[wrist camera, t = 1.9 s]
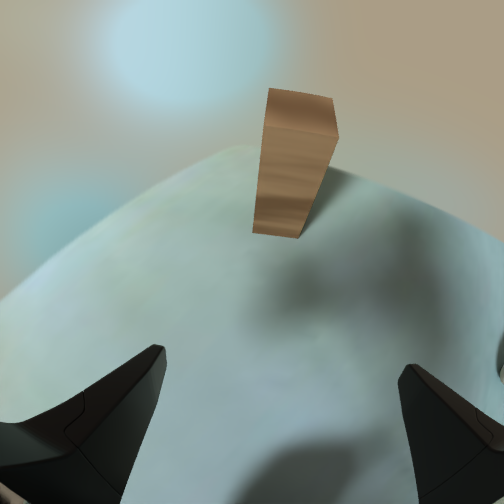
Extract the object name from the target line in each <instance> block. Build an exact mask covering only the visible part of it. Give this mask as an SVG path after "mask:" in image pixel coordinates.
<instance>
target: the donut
mask: <svg viewBox="0 0 504 504" xmlns="http://www.w3.org/2000/svg"><path fill="white" fill-rule="evenodd" d="M500 379H501V382H502V383H503V384H504V365H503V367H502V369H501V372H500Z"/></svg>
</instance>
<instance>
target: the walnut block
mask: <svg viewBox="0 0 504 504" xmlns="http://www.w3.org/2000/svg"><path fill="white" fill-rule="evenodd" d="M338 139H339V136H338V129H337V122H336V116H335V111H334V105H333V100H332V98H327V97H323V96H318V95H313V94H307V93H301V92H295V91H289V90H281V89H274V88H269V92H268V99H267V106H266V113H265V119H264V127H263V136H262V146H261V155H260V165H259V174H258V184H257V194H256V203H255V213H254V222H253V232H252V233H258V234H266V235H274V236H282V237H290V238H297V239H298V238H299V235H300V233H301V231H302V228H303V226H304V224H305V221H306V219H307V216H308V214H309V212H310V209H311V207H312V204H313V202H314V200H315V197H316V195H317V192H318V190H319V187H320V185H321V182H322V180H323V177H324V175H325V172H326V170H327V167H328V165H329V162H330V160H331V156H332V154H333V152H334V149H335V147H336V144H337V141H338Z"/></svg>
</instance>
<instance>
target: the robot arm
mask: <svg viewBox="0 0 504 504" xmlns="http://www.w3.org/2000/svg"><path fill="white" fill-rule="evenodd" d="M166 367H167V360H166V350H165V347H164V346H161V345H156V344H153V345H151V346H150V347H148V348H147V349H145V350H144V351H142V352H141V353H139V354H138V355H136V356H135V357H133V358H132V359H130V360H129V361H127V362H126V363H124V364H123V365H121V366H120V367H118V368H117V369H115V370H114V371H112V372H111V373H109V374H108V375H106V376H105V377H103V378H101V379H100V380H98V381H97V382H95V383H94V384H92V385H91V386H89V387H88V388H86V389H85V390H84V392H83V391H81V392H80V393H78V394H77V395H75V396H74V397H72V398H70V399H69V400H67V401H65V402H63V403H62V404H60V405H58V406H56V407H54V408H52V409H50V410H48V411H45V412H43V413H41V414H39V415H37V416H35V417H32V418H30V419H28V420H26V421H23V422H19V423H5V422H0V504H120V501H121V499H122V495H123V493H124V490H125V487H126V484H127V481H128V479H129V476H130V473H131V470H132V468H133V465H134V462H135V460H136V457H137V454H138V452H139V449H140V446H141V444H142V441H143V439H144V436H145V433H146V431H147V428H148V426H149V423H150V421H151V418H152V416H153V413H154V410H155V408H156V405H157V402H158V398H159V394H160V390H161V387H162V383H163V379H164V375H165V371H166ZM398 389H399V395H400V401H401V408H402V415H403V420H404V424H405V428H406V432H407V437H408V441H409V446H410V451H411V456H412V461H413V466H414V472H415V478H416V484H417V491H418V499H419V504H504V426H503V425H501V424H500V423H498V422H496V421H495V420H493V419H492V418H490V417H489V416H487V415H486V414H484V413H483V412H482V411H480V410H479V409H478V408H476V407H475V406H473V405H472V404H471V403H469V402H468V401H467V400H465V399H464V398H463V397H461V396H460V395H459V394H457V393H456V392H454V391H453V390H452V389H450V388H449V387H448V386H446V385H445V384H444V383H442V382H441V381H439V380H438V379H437V378H435V377H434V376H433V375H431V374H430V373H429V372H427V371H426V370H424V369H423V368H422V367H420V366H419V365H418V364H408V365H406V367H405V368H404V370H403V372H402V374H401V375H400V377H399V379H398Z"/></svg>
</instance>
